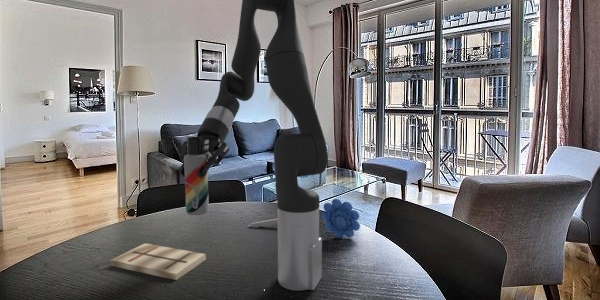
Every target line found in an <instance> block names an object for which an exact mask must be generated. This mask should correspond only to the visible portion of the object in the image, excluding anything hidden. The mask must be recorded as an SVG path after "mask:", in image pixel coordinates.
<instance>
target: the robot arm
mask: <svg viewBox="0 0 600 300" xmlns="http://www.w3.org/2000/svg"><path fill="white" fill-rule="evenodd" d="M295 1H296V0H242V1H241V7H240V8H241V10H240V18H239V26H238V33H237V35H238V36H237V41H236V46H235V50H234V53H233V57H232V59H231V65H230V66H231V69H232V71H227V72H224V73H223V75H221V78H220V82H219V91H218V95H217V98H216V100H215V101H214V104H213V105H212V107H211V109H210V110H209V111H208V112H207V114H206V116H205V118H204V119H203V121H202V123H201V125H200V126H199V128H198V131H197V134H196V135H197V136H196V137H203V154H205V155H207V157H206V159H205V162H206V163H205V165H204V167H203V166H202V167H201V168H200V169H199V170H198V171H197V176H198V177H200V178H203V177H204V176H205V175H206V174H207V171H208V172H209V170H210V168H211V167H212V166H219V165H220V163H221V162H222V161H223V159H224V158H225V157H226V155H227V153H228V152H230V148H229V145H228V144H227V143H226V142H225V140H226V139H227V137H228V134H229V133H230V131H231V128H232V126H233V123H234V120H235V119H236V116H237V114H238V112H239V110H240V107H241V103H240V101H242V102H247V101H249V100H250V99H251V98H252V97H253V95H254V94H255V75H256V74H255V73H256V69H257V66H258V62H259V60H260V57H261V51H262V50H261V49H262V45H261V41H260V38H259V35H258V31H257V28H256V24H255V17H256V16H255V15H256V12H257V10H262V11H268V12H273V13H275V15H276V18H277V28H276V30H275V32H274V34H273V36H272V38H271V40H270V41H269V43H268V45H267V47H266V51H265V54H264V62H265V63H264V64H265V70H266V75H267V80H268V84H269V86H270V88H271V89H272V91H273V93H275V95H276V96H277V98H278V99H279V100H280V101H281V102H282V103H283V105H284V106H285V107H286V108H287V109H288V110H289V112H290V113H291V115H292V116H293V118H294V120H295V123H296V125H297V128H298V130H299V131H298V132H299V133H286V134H285V133H284V134H281V135H279V136H278V137H277V138H276V140H275V143H274V146H273V162H274V175H275V176H274V178H275V179H274V181H275V193H276V201H277V206H276V207H277V218H278V224H277V282H278V284H279V286H281V287H282V288H285V289H286V290H289V291H290V290H291V291H296V292H297V291H300V292H301V291H307V290H310V291H314V290H315V289H316V287H317V286H318V285H319V282H320V281H321V279H322V278H323V277H322V275H323V274H322V273H323V272H322V269H323V268H322V267H323V264H322V262H323V260H322V257H323V250H322V249H323V242H322V241H323V238H322V237H320V195H319V194H318V193H317V192H315V191H314V190H312V189H308V188H303V187H301V186H299V180H298V177H305V176H306V177H307V176H316V175H321V174H322V173H324V172H325V171H326V169H327V167H328V161H329V153H328V147H327V142H326V139H325V135H324V133H323V129H322V125H321V123H320V119H319V116H318V113H317V110H316V106H315V101H314V98H313V94H312V93H313V92H312V89H311V85H310V80H309V73H308V69H307V68H308V67H307V63H306V58H305V55H304V54H305V53H304V51H303V47H302V41H301V35H300V32H299V26H298V19H297V17H298V16H297V9H296V2H295ZM185 155H188V153H187V140H185V141H183V144H182V146H181V150H180V153H179V156H178V158H179V159H180V161H181V162H182V163H181V166H179V169H178V174H179V175H180V176H181V177H183V178H185V171H184V156H185Z"/></svg>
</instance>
